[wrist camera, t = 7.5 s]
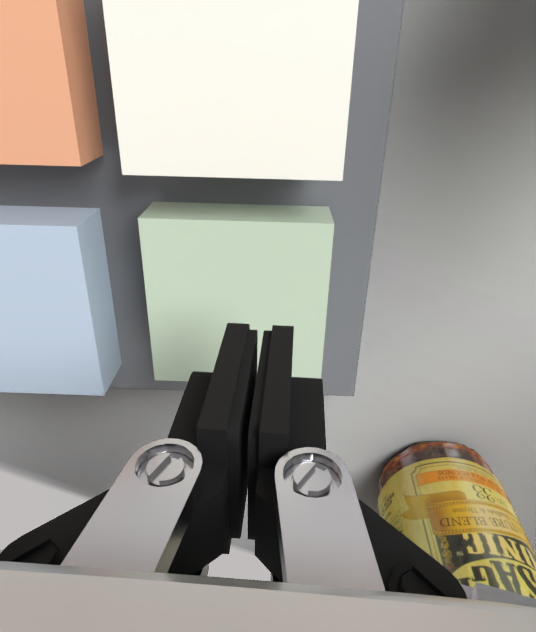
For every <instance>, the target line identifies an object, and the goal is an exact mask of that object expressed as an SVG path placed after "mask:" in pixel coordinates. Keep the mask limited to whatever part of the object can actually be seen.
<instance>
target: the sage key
mask: <svg viewBox="0 0 536 632" xmlns="http://www.w3.org/2000/svg"><path fill="white" fill-rule="evenodd" d="M138 225H139V235H140V244H141V254H142V264H143V273H144V283H145V292H146V302H147V311H148V321H149V330H150V340H151V349H152V359H153V368H154V378H155V380H163V381H189V378H190V375H191V373H192V372H193V371H198V372H213V370H214V367H215V363H216V360H217V357H218V353H219V350H220V346H221V343H222V340H223V336H224V333H225V330H226V326H227V323H242V324H249V325H250V330H257V332H258V342H257V371H258V365H259V358H260V352H261V345H262V339H263V332H264V330H268V331H272V326H273V325H281V326H294V335H293V357H292V377H303V378H320V379H321V373H322V362H323V350H324V338H325V327H326V315H327V304H328V292H329V281H330V269H331V258H332V246H333V234H334V221H333V218H332V215H331V211H330V208H329V207H327V206H292V205H256V204H221V203H186V202H152V203H151V205H150V206H149V207H148V208H147V209H146V210H145V211H144V212H143V213H142V214H141V215H140V216H139V217H138Z"/></svg>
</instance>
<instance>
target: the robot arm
mask: <svg viewBox="0 0 536 632" xmlns="http://www.w3.org/2000/svg"><path fill="white" fill-rule="evenodd" d="M293 335H294V326H281V325H273V326H272V331H268V330H264V332H263V339H262V345H261V352H260V358H259V365H258V371H257V342H258V332H257V330H250V325H249V324H242V323H227V326H226V330H225V333H224V336H223V340H222V343H221V346H220V350H219V353H218V357H217V360H216V363H215V367H214V370H213V372H198V371H193V372H192V373H191V375H190V378H189V381H188V383H187V386H186V389H185V392H184V394H183V397H182V400H181V403H180V405H179V408H178V411H177V414H176V416H175V419H174V422H173V425H172V427H171V430H170V433H169V436H168V438H166V439H160V440H155V441H153V442H150V443H147V444H145V445H144V446H142V447H141V448H139V449H138V450H137V451H136V452H135V453H134V454H133V455H132V456H131V457H130V459H129V460H128V462H127V464H126V465H125V467H124V468H123V470H122V471H121V473H120V474H119V476H118V477H117V479H116V480H115V482H114V484H113V485H112V487H111V488H110V489H109V490H107V491H105V492H103V493H101V494H100V495H98V496H96V497H94V498H92V499H90V500H88V501H86V502H85V503H83V504H81V505H79V506H77V507H75V508H73V509H71V510H70V511H68V512H66V513H64V514H62V515H60V516H58V517H56V518H55V519H53V520H51V521H49V522H47V523H45V524H44V525H41V526H40V527H38V528H36V529H34V530H32V531H30V532H29V533H26V534H25V535H23V536H21V537H20V538H18V539H17V540H15V541H14V542H12V543H11V544H9V545H8V546H7V547H6V548H5V549H4V550H0V632H536V599H534V598H531V597H527V596H524V595H520V594H517V593H513V592H510V591H506V590H503V589H499V588H496V587H492V586H489V585H485V584H482V583H479V582H476V583H475V586H474V588H473V587H469V586H466V585H462V584H460V583H459V581H458V579H457V578H456V577H455V576H454V575H453V574H452V573H451V572H450V571H449V570H448V569H447V568H445V567H444V566H443V565H441V564H440V563H439V562H438V561H436V560H435V559H434V558H433V557H431V556H430V555H429V554H428V553H426V552H425V551H424V550H422V549H421V548H420V547H419V546H417V545H416V544H415V543H414V542H412V541H411V540H410V539H409V538H407V537H406V536H405V535H404V534H402V533H401V532H400V531H398V530H397V529H396V528H395V527H393V526H392V525H391V524H390V523H388V522H387V521H386V520H385V519H383V518H382V517H381V516H379V515H378V514H377V513H376V512H374V511H373V510H372V509H371V508H369V507H368V506H367V505H366V504H364V503H363V502H362V501H361V500H359V499H358V498H357V495H356V491H355V488H354V485H353V482H352V478H351V475H350V472H349V470H348V468H347V466H346V464H345V463H344V462H343V461H342V460H341V459H340V458H339V457H338V456H336V455H335V454H333V453H331V452H329V451H327V450H326V437H325V417H324V397H323V380H322V379H320V378H303V377H292V357H293ZM247 488H248V539H253V540H255V556H256V557H257V558H258V559H259V560H260V561H261V562H262V563H263V564H264V565H265V566H266V567H267V569H268V570H269V571H270V572H271V582H270V581H258V580H257V581H256V580H244V579H233V578H220V577H208V576H207V574H208V569H209V566H208V564H209V563H210V562H211V561H213V560H214V559H216V558H217V557H218V556H220V555H221V554H229V551H230V544H231V538H240V537H241V532H242V524H243V517H244V510H245V502H246V495H247Z"/></svg>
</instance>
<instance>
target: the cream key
mask: <svg viewBox="0 0 536 632" xmlns="http://www.w3.org/2000/svg"><path fill="white" fill-rule="evenodd" d="M102 3H103V12H104V21H105V29H106V38H107V47H108V55H109V64H110V73H111V82H112V90H113V99H114V108H115V116H116V125H117V134H118V142H119V151H120V160H121V168H122V175H145V176H182V177H218V178H254V179H291V180H327V181H343V170H344V159H345V148H346V137H347V126H348V115H349V104H350V93H351V82H352V71H353V60H354V49H355V38H356V27H357V16H358V5H359V0H102Z"/></svg>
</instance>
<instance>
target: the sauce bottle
mask: <svg viewBox="0 0 536 632" xmlns="http://www.w3.org/2000/svg"><path fill="white" fill-rule="evenodd" d="M378 492H379V494H378V511H379V516H381V517H382V518H383V519H385V520H386V521H387V522H388V523H390V524H391V525H392V526H393V527H395V528H396V529H397V530H398V531H400V532H401V533H402V534H404V535H405V536H406V537H407V538H409V539H410V540H411V541H412V542H414V543H415V544H416V545H417V546H419V547H420V548H421V549H422V550H424V551H425V552H426V553H428V554H429V555H430V556H431V557H433V558H434V559H435V560H436V561H438V562H439V563H440V564H441V565H443V566H444V567H445V568H447V569H448V570H449V571H450V572H451V573H452V574H453V575H454V576H455V577H456V578H457V579H458V581H459V583H460V584H462V585H466V586H469V587H473V588H474V586H475V583H476V582H479V583H482V584H485V585H489V586H492V587H496V588H499V589H503V590H506V591H510V592H513V593H517V594H520V595H524V596H527V597H531V598H534V599H536V555H535V553H534V551H533V549H532V547H531V545H530V543H529V541H528V539H527V537H526V534H525V532H524V530H523V528H522V526H521V524H520V522H519V520H518V518H517V516H516V513H515V511H514V509H513V507H512V505H511V503H510V501H509V499H508V497H507V495H506V493H505V490H504V488H503V486H502V484H501V483H500V481H499V480H498V479H497V478H496V476H495V475H494V474H493V472H492V471H491V469H490V467H489V465H488V464H487V463H486V462H485V461H484V460H483V459H482V458H481V456H480V455H479V454H478V453H476V452H475V451H474V450H473V449H469V448H468V447H466V446H465V445H459V444H457V443H450V442H428V441H427V442H420V443H417V444H414V445H411V446H409V447H408V448H407V449H405V450H404V451H403V452H401V453H399V454H398V455H396V456H395V457H393V458H392V459H391V460H390V461H389V462H388V463H387V464H386V465H385V467H384V469H383V471H382V474H381V476H380V479H379V487H378Z"/></svg>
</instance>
